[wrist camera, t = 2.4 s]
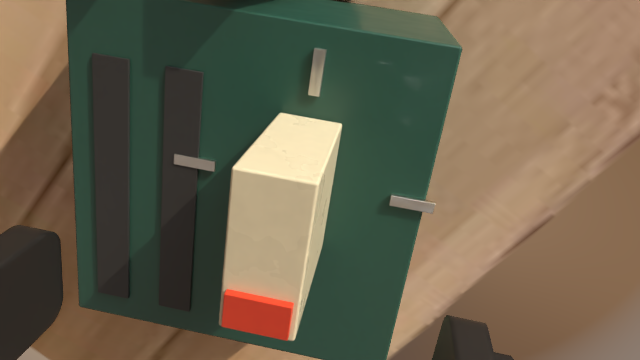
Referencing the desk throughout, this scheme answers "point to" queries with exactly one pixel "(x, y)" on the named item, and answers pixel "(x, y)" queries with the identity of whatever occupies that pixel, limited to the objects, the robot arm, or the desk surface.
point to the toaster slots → (115, 178)
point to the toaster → (248, 124)
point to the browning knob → (277, 225)
